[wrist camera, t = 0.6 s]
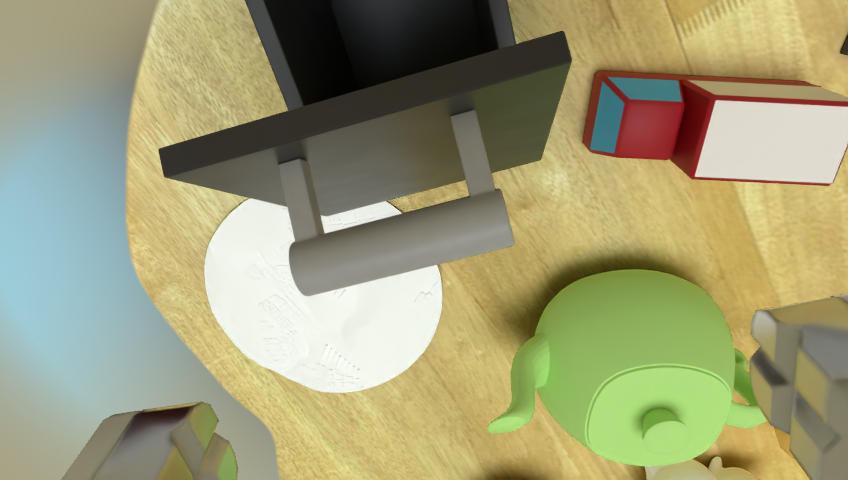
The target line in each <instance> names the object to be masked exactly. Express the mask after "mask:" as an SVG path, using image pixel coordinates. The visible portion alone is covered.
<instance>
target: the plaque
mask: <svg viewBox="0 0 848 480" xmlns="http://www.w3.org/2000/svg"><path fill="white" fill-rule="evenodd" d="M398 214H402V213H401V212H400V211H399V210H398V209H396V208H395V207H394V206H392V205H391V204H389V203H388V202H386V201H384V202H380V203H376V204H372V205H368V206H365V207H361V208H357V209H353V210H350V211H346V212H342V213H338V214H334V215H331V216H322V215H321V220H322V224H323V228H324V233H329V232H333V231H337V230H340V229H344V228H348V227H352V226H356V225H360V224H363V223H367V222H371V221H375V220H379V219H383V218H387V217H390V216H394V215H398ZM293 242H295V239H294V234H293V230H292V226H291V221H290V217H289V212H288V208H287V207H285V206H281V205H277V204H273V203H269V202H265V201H260V200H256V199H252V198H249V199H248V200H246V201H245V202H243V203H242V204H241V205H239V206H238V207H237V208H236V209H234V210H233V211H232V212H231V213H230V214H229V215H228V216H227V217H226V218H225V220H224V221H223V222H222V223H221V225H220V226H219V228H218V229H217V231H216V232H215V234H214V236H213V238H212V240H211V242H210V244H209V246H208V250H207V254H206V258H205V267H204V276H205V286H206V291H207V295H208V300H209V303H210V308H211V310H212V312H213V314H214V316H215V318H216V320H217V322H218V324H219V325H220V326H221V328H222V329H223V331H224V332H225V333H226V335H227V336H228V337H229V338H230V339H231V341H232V342H233V343H234V344H235V345H236V346H237V347H238V348H239V349H240V350H241V352H243V353H244V354H245V355H246V356H247V357H249V358H250V359H251V360H253V361H254V362H256V363H257V364H259V365H260V366H262V367H265V368H268V369H271V370H273V371H275V372H277V373H279V374H281V375H283V376H284V377H286V378H287V379H290V380H293V381H295V382H297V383H300V384H302V385H304V386H305V387H308V388H311V389H314V390H316V391H321V392H333V393H345V392H354V391H359V390H364V389H368V388H371V387H374V386H377V385H379V384H382V383H384V382H387V381H389V380H391V379H392V378H394V377H396V376H397V375H399V374H400V373H402V372H404V371H405V370H406V369H408V368H409V367H410V366H411V365H412V364H413V363H414V362H415V361H416V360H417V359H418V358H419V357H420V356H421V354H422V353H423V352H424V351H425V349H426V348H427V346H428V345H429V343H430V341H431V339H432V337H433V335H434V333H435V331H436V328H437V325H438V322H439V319H440V314H441V308H442V284H441V278H440V273H439V269H438V266H437V265H434V266H430V267H426V268H422V269H418V270H414V271H410V272H406V273H402V274H398V275H394V276H390V277H385V278H381V279H377V280H373V281H369V282H365V283H361V284H357V285H353V286H349V287H345V288H341V289H337V290H332V291H328V292H324V293H320V294H316V295H312V296H304V295H303V294H301V292H300V291H299V290H298V288H297V287H296V285H295V282H294V280H293V277H292V274H291V270H290V265H289V248H290V245H291V244H292V243H293Z"/></svg>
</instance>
